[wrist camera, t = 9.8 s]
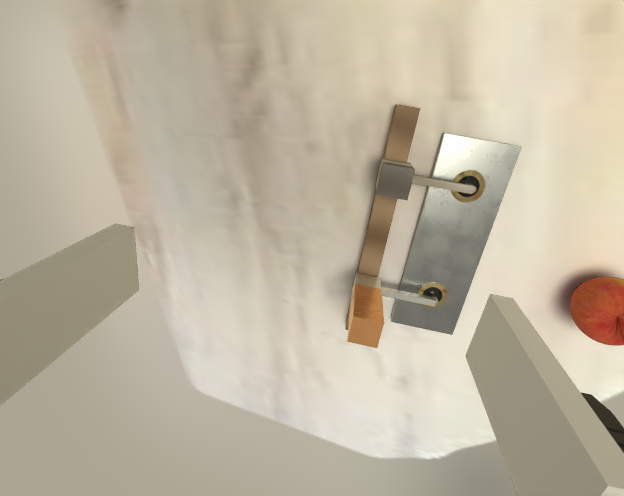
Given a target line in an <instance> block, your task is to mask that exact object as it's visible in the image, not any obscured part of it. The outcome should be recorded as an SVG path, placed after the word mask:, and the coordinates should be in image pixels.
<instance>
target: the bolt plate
mask: <svg viewBox="0 0 624 496" xmlns="http://www.w3.org/2000/svg"><path fill="white" fill-rule="evenodd" d="M520 150H521V146H516V145H510V144H505V143H499V142H493V141H487V140H481V139H475V138H469V137H463V136H457V135H452V134H446V133H443V135H442V138H441V142H440V146H439V149H438V153H437V156H436V160H435V163H434V167H433V170H432V174H431V177H430V178H435V179H440V180H446V181H452V182H457V183H463V184H472V185H473V186H475V187H476V192H475V193H472V194H469V193H463V192H458V191H452V190H447V189H441V188H436V187H430V186H428V188H427V191H426V195H425V199H424V202H423V206H422V209H421V213H420V216H419V220H418V223H417V227H416V230H415V234H414V237H413V241H412V244H411V248H410V252H409V255H408V259H407V262H406V266H405V269H404V273H403V276H402V280H401V283H400V287H399V290H400V291H405V292H410V293H415V294H420V295H425V296H430V295H431V294H435V295H436V297H437V299H438V304H437V305H435V307H434V306H429V305H424V304H420V303H415V302H410V301H405V300H400V299H396V301H395V305H394V308H393V312H392V315H391V322H395V323H400V324H404V325H409V326H414V327H418V328H423V329H428V330H432V331H437V332H442V333H447V334H451V335H452V334H453V331H454V329H455V326H456V323H457V321H458V318H459V315H460V312H461V310H462V307H463V304H464V302H465V299H466V296H467V294H468V291H469V288H470V285H471V283H472V280H473V277H474V275H475V272H476V269H477V266H478V264H479V261H480V258H481V256H482V253H483V250H484V247H485V245H486V242H487V239H488V237H489V234H490V231H491V228H492V226H493V223H494V220H495V218H496V215H497V212H498V210H499V207H500V204H501V201H502V199H503V196H504V193H505V191H506V188H507V185H508V182H509V180H510V177H511V174H512V172H513V169H514V166H515V163H516V161H517V158H518V155H519V153H520Z"/></svg>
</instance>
